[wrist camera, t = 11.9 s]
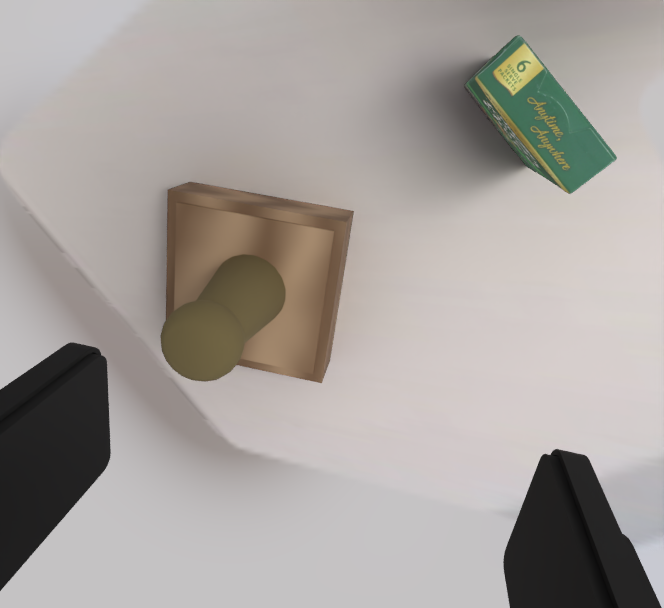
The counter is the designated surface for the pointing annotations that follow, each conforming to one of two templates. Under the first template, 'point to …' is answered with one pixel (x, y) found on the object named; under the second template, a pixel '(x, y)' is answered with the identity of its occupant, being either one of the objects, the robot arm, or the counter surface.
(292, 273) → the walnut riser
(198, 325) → the olive tapered piece
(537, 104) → the coffee box
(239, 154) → the counter surface
